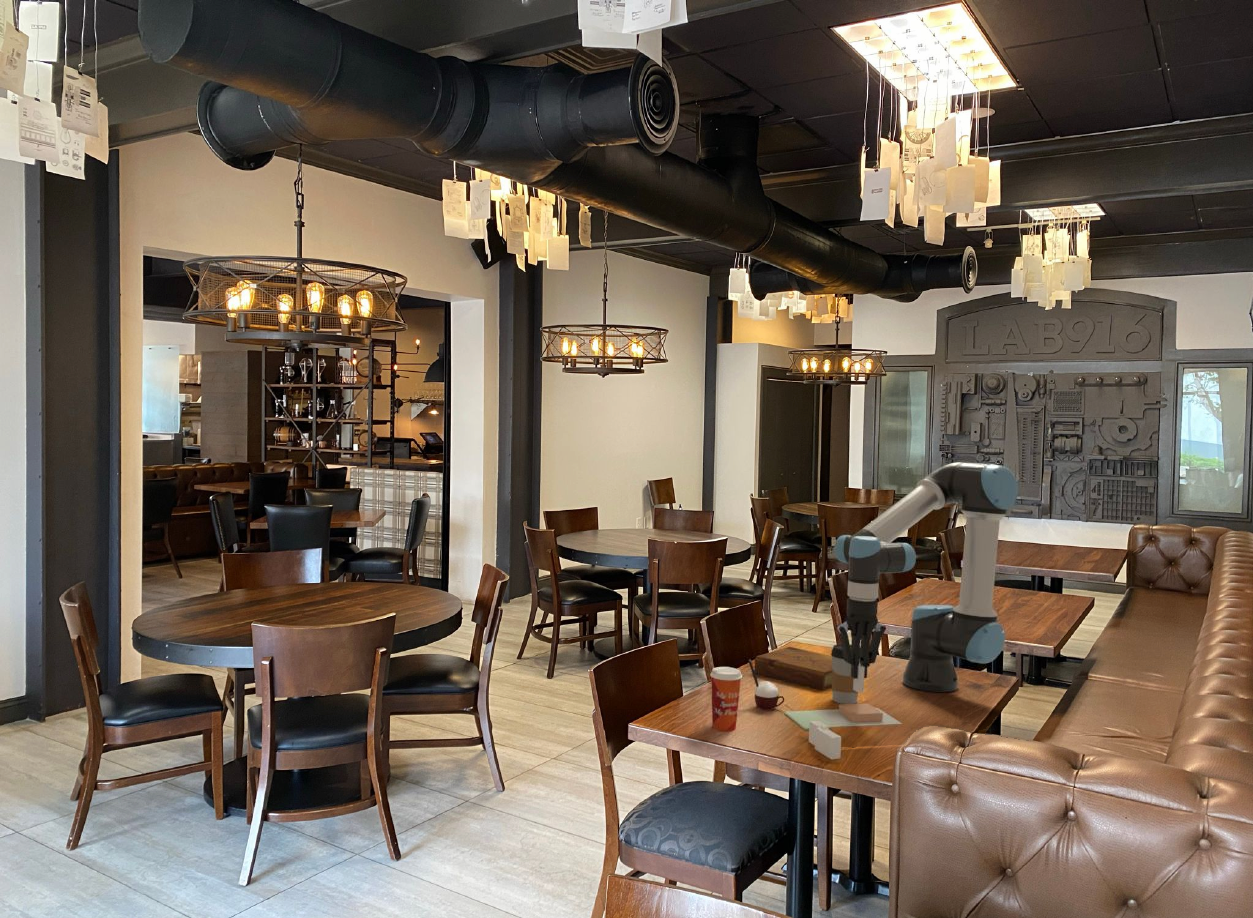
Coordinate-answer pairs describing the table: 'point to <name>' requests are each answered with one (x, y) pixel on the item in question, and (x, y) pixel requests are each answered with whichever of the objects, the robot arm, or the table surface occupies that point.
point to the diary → (797, 667)
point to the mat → (833, 718)
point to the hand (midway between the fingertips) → (858, 690)
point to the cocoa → (765, 693)
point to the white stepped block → (825, 740)
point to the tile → (860, 712)
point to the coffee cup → (842, 678)
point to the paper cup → (725, 697)
